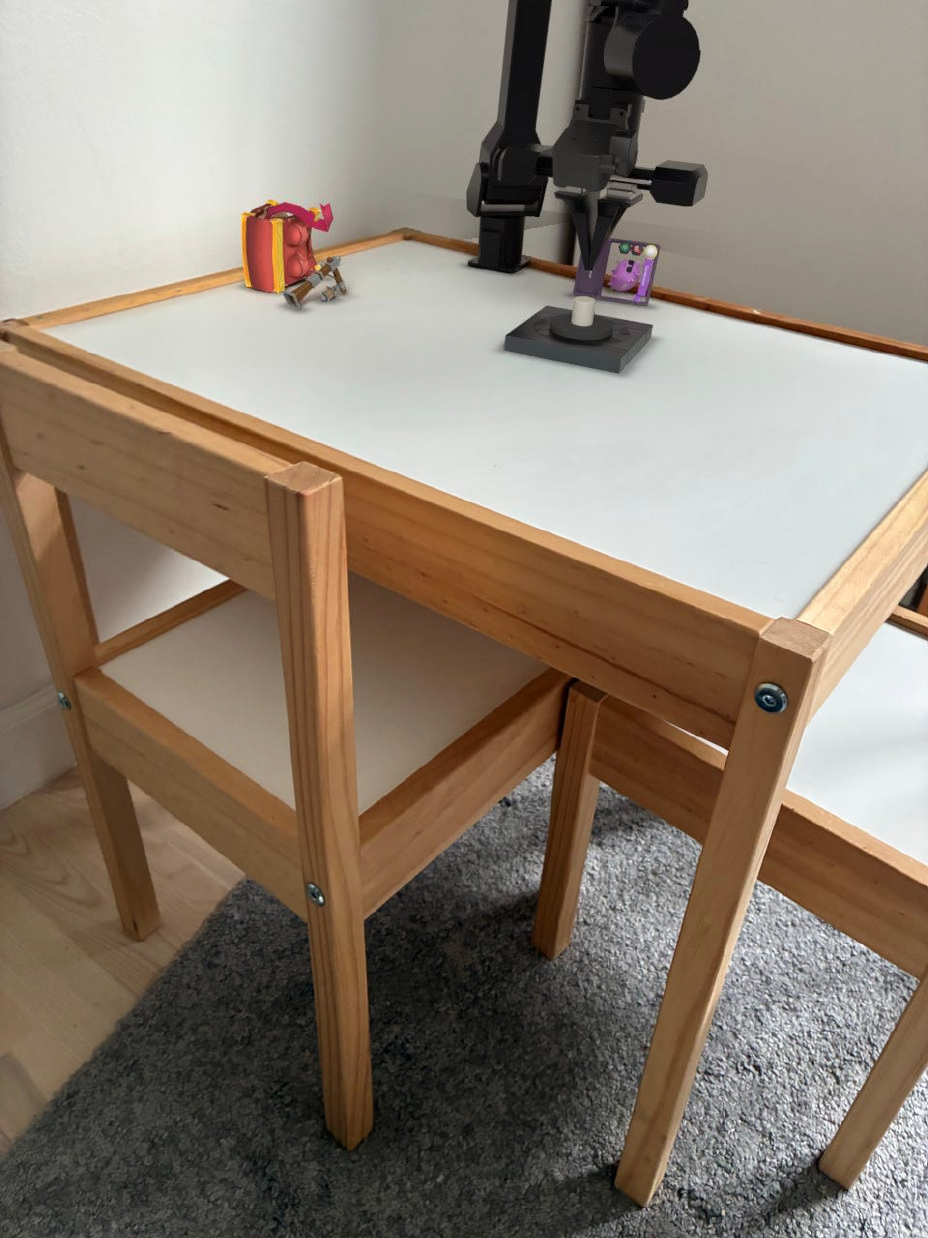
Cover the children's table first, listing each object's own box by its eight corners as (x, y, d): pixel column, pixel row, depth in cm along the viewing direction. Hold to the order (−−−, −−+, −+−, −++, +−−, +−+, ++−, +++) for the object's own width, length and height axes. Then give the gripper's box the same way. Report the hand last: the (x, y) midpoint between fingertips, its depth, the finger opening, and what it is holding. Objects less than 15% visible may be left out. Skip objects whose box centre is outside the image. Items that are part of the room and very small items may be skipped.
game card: (582, 233, 104) (659, 243, 102) (590, 240, 109) (664, 250, 107) (571, 293, 106) (646, 305, 104) (579, 298, 111) (651, 309, 109)
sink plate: (545, 318, 99) (546, 304, 98) (650, 338, 95) (653, 324, 94) (504, 350, 90) (505, 335, 89) (618, 373, 86) (621, 357, 85)
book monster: (277, 266, 110) (359, 290, 106) (228, 284, 103) (313, 310, 99) (273, 172, 103) (360, 193, 99) (220, 185, 97) (311, 208, 93)
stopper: (560, 328, 96) (565, 286, 93) (618, 339, 94) (624, 296, 91) (539, 345, 91) (544, 301, 88) (599, 357, 89) (606, 312, 87)
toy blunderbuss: (356, 287, 102) (342, 251, 98) (307, 329, 99) (291, 294, 95) (345, 283, 103) (331, 248, 99) (296, 325, 100) (281, 290, 96)
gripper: (479, 82, 76) (469, 273, 85) (697, 104, 70) (662, 306, 79) (526, 74, 84) (513, 249, 93) (725, 93, 79) (689, 277, 88)
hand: (589, 269), depth 88 cm, fingers closed
